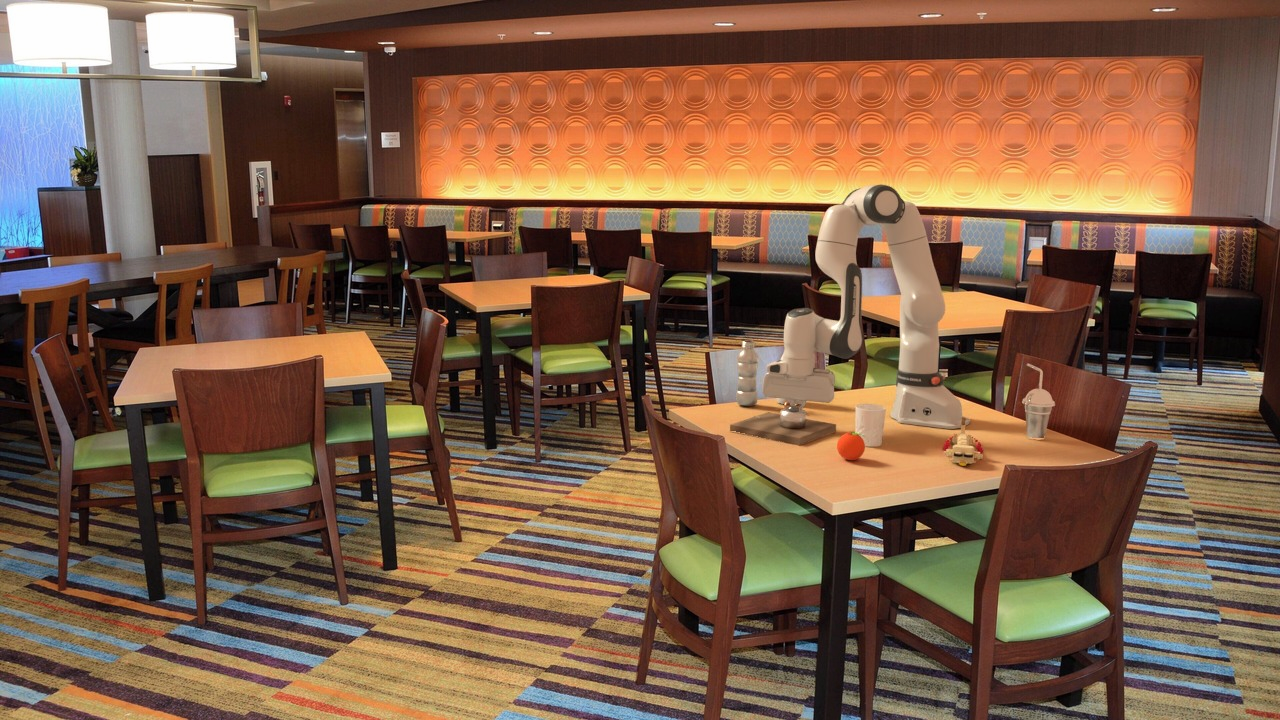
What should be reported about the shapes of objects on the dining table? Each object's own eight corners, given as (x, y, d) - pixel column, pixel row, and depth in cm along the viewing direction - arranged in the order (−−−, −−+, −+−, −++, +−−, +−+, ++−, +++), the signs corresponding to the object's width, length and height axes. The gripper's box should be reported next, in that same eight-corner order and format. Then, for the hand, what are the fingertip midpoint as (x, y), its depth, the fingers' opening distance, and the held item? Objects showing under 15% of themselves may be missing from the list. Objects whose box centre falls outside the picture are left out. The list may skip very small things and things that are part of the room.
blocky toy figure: (942, 447, 283) (941, 464, 259) (944, 415, 282) (944, 429, 258) (980, 450, 280) (983, 467, 256) (983, 417, 279) (986, 432, 255)
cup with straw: (1024, 441, 284) (1030, 369, 280) (1014, 433, 292) (1020, 363, 289) (1056, 442, 283) (1063, 370, 280) (1045, 434, 292) (1051, 363, 288)
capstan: (807, 428, 286) (807, 410, 285) (781, 428, 286) (782, 410, 285) (800, 414, 301) (800, 397, 300) (775, 414, 301) (776, 397, 300)
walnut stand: (835, 431, 292) (836, 423, 292) (799, 445, 277) (799, 437, 277) (768, 418, 306) (768, 411, 305) (729, 431, 290) (730, 423, 290)
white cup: (859, 448, 275) (861, 410, 273) (849, 440, 283) (851, 404, 281) (888, 447, 277) (890, 410, 275) (877, 439, 284) (879, 403, 282)
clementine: (864, 456, 268) (866, 429, 266) (871, 463, 261) (872, 435, 260) (833, 455, 268) (835, 428, 266) (839, 463, 261) (840, 435, 259)
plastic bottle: (758, 408, 319) (760, 343, 315) (736, 407, 319) (738, 343, 315) (756, 403, 325) (758, 339, 321) (734, 403, 325) (736, 339, 322)
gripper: (838, 368, 292) (836, 416, 295) (767, 361, 301) (766, 408, 303) (832, 372, 286) (830, 421, 289) (760, 365, 295) (759, 413, 298)
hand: (797, 414), depth 296 cm, fingers closed
